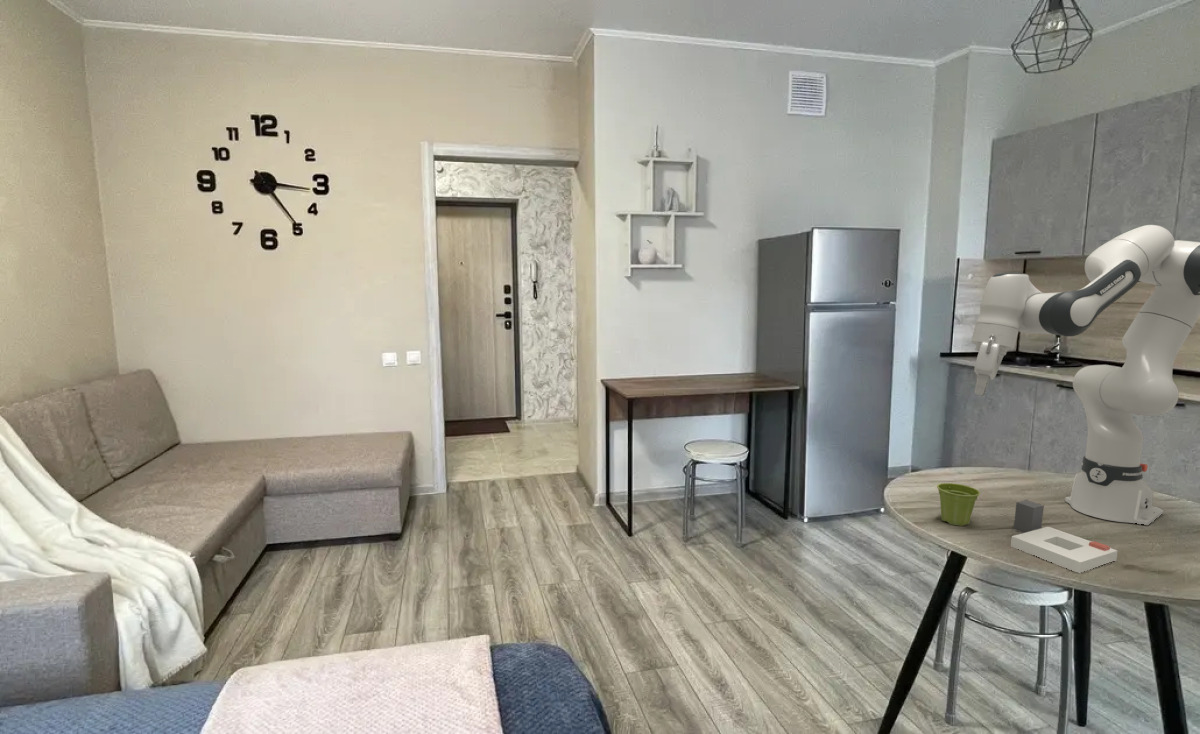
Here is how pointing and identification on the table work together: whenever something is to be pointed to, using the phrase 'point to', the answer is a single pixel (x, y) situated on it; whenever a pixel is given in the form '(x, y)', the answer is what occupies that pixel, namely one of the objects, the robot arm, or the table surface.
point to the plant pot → (957, 502)
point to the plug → (1028, 516)
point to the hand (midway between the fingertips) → (979, 395)
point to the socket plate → (1064, 549)
